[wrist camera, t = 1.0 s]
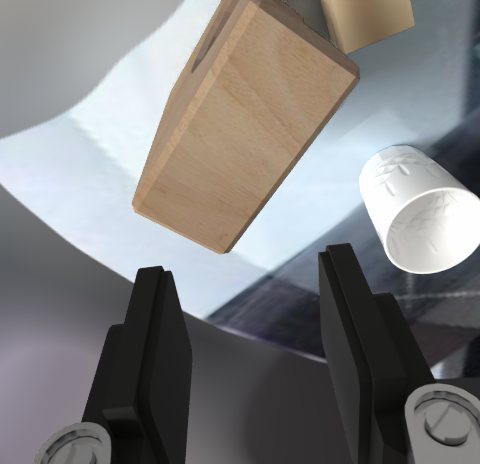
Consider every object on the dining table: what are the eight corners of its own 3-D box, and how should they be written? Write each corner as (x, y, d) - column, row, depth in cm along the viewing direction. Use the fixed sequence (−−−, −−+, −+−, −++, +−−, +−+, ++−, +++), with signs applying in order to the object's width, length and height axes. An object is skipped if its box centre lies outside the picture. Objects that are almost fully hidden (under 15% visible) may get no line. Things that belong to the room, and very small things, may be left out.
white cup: (414, 219, 46) (457, 280, 37) (341, 205, 45) (369, 266, 36) (450, 147, 42) (507, 198, 33) (370, 130, 41) (409, 178, 32)
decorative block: (239, -33, 33) (257, -11, 17) (299, 14, 35) (371, 77, 18) (166, 93, 38) (122, 210, 21) (223, 129, 40) (224, 262, 23)
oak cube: (378, -53, 33) (401, -54, 29) (392, 16, 36) (415, 25, 31) (313, -24, 34) (326, -20, 30) (331, 42, 37) (345, 54, 32)
